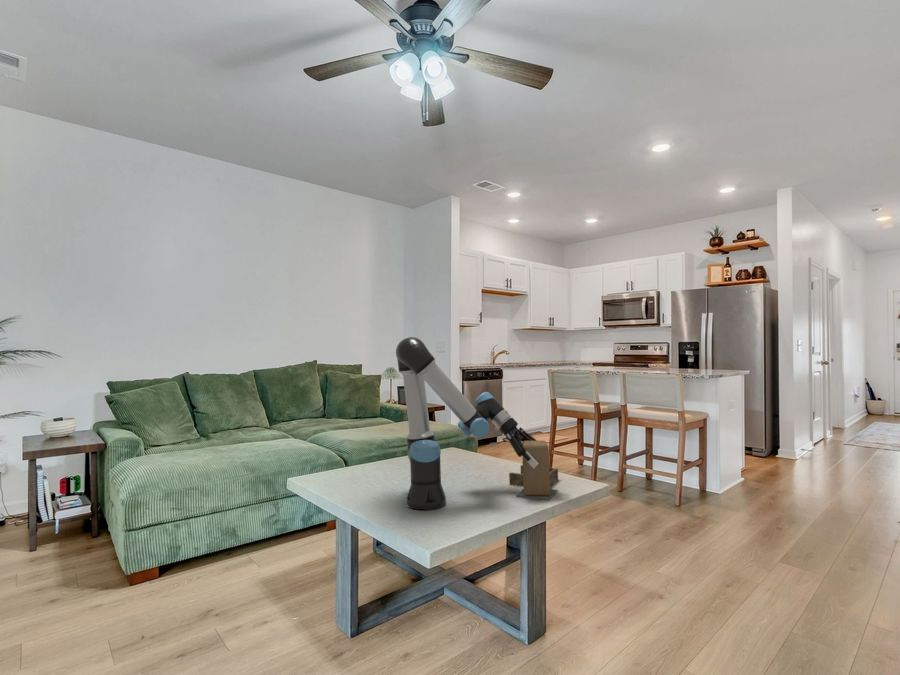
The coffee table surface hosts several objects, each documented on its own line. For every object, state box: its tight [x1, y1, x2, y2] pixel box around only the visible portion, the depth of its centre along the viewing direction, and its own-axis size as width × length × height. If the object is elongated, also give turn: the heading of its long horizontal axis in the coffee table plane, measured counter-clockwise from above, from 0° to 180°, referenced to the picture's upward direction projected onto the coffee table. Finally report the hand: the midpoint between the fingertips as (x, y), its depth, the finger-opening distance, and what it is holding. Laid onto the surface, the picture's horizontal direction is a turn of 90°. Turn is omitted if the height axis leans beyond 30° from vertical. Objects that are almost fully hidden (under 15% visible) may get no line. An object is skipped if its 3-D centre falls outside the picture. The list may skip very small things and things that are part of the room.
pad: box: [515, 488, 558, 502], centre depth 191 cm, size 13×13×1 cm
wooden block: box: [521, 440, 551, 496], centre depth 191 cm, size 10×10×20 cm
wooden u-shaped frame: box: [508, 464, 559, 487], centre depth 208 cm, size 17×15×5 cm
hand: (541, 462), depth 190 cm, fingers open, 13 cm apart
